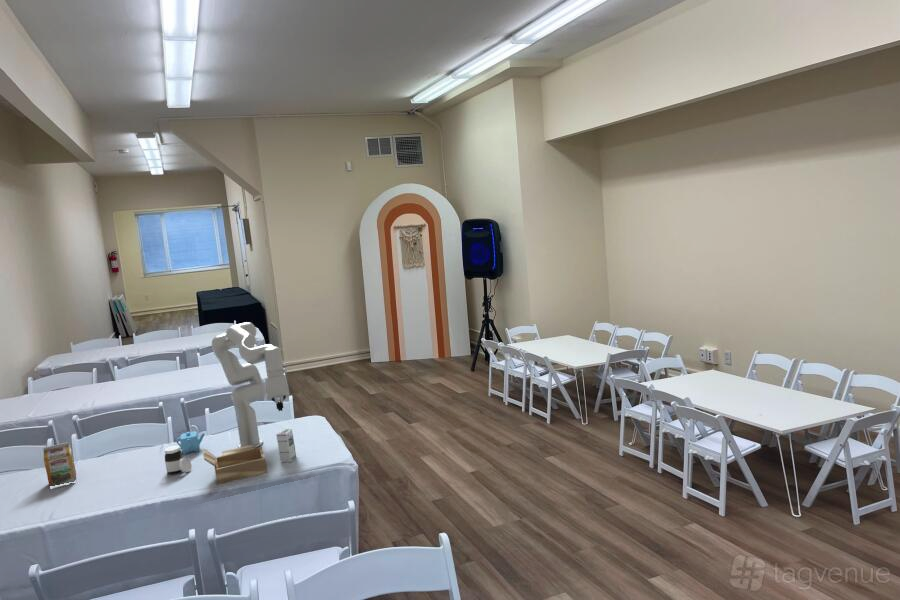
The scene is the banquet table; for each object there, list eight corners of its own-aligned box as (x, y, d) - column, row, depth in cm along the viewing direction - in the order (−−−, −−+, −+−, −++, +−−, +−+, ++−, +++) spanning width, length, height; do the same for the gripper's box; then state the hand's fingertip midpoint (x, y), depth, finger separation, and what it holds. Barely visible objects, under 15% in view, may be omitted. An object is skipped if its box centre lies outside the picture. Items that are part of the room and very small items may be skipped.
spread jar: (169, 468, 316) (165, 445, 314) (193, 464, 318) (190, 441, 316) (165, 478, 304) (161, 455, 302) (190, 473, 307) (186, 450, 305)
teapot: (178, 447, 342) (175, 429, 341) (206, 441, 347) (203, 424, 346) (177, 459, 326) (174, 440, 324) (207, 453, 331) (204, 434, 329)
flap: (215, 456, 305) (214, 457, 305) (204, 448, 302) (203, 449, 302) (216, 466, 292) (216, 467, 292) (204, 458, 290) (203, 459, 290)
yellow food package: (50, 489, 303) (42, 451, 300) (51, 481, 313) (44, 444, 309) (75, 483, 308) (68, 445, 305) (76, 475, 317) (69, 438, 314)
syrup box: (291, 462, 310) (287, 433, 307) (280, 462, 311) (275, 433, 308) (296, 457, 315) (292, 428, 313) (285, 457, 316) (281, 429, 314)
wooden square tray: (215, 467, 312) (213, 453, 311) (262, 456, 320) (260, 443, 319) (217, 484, 292) (214, 469, 291) (267, 472, 300) (265, 458, 299)
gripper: (290, 368, 311) (295, 404, 315) (258, 374, 306) (263, 411, 309) (292, 371, 305) (297, 409, 308) (259, 377, 299) (265, 415, 302)
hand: (280, 410), depth 309 cm, fingers closed
